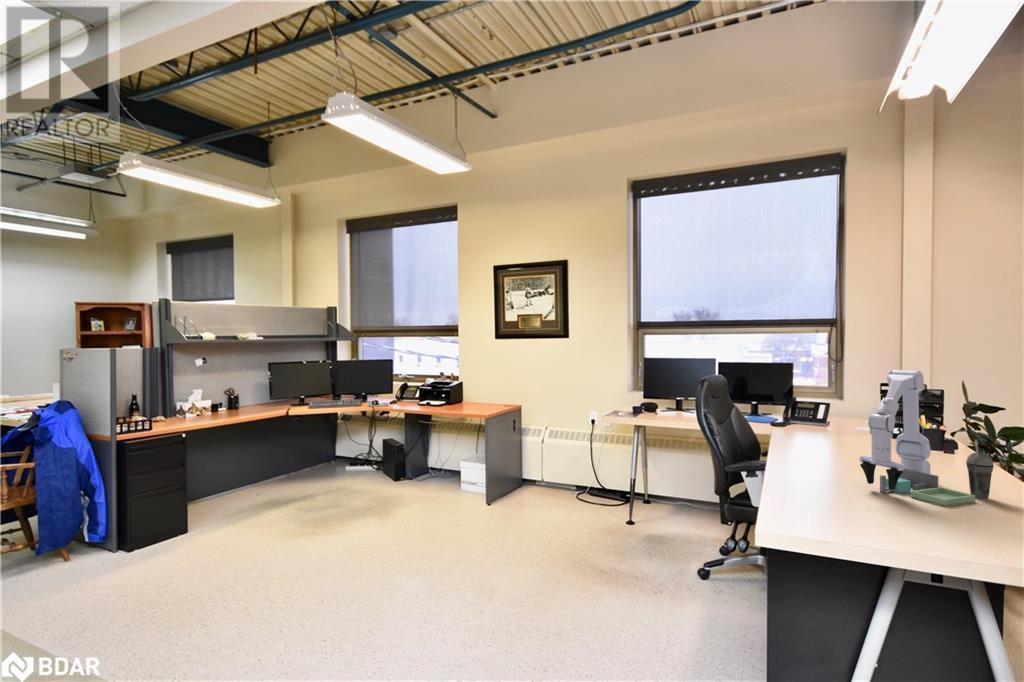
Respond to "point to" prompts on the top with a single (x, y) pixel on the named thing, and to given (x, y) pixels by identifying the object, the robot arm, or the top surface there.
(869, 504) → the top surface
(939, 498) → the tray
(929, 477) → the rack
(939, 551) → the top surface
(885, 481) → the cyan and grey piece
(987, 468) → the beverage cup
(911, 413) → the robot arm
